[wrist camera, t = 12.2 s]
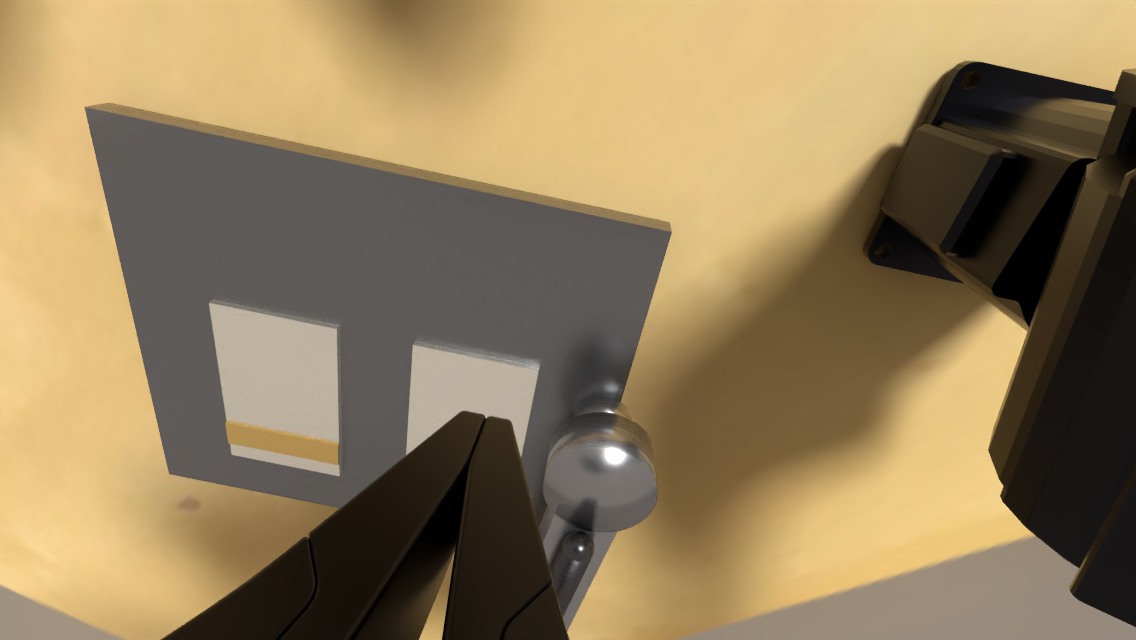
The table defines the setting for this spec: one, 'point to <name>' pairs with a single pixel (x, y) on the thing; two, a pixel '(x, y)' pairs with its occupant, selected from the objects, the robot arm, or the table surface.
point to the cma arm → (592, 497)
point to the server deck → (357, 304)
